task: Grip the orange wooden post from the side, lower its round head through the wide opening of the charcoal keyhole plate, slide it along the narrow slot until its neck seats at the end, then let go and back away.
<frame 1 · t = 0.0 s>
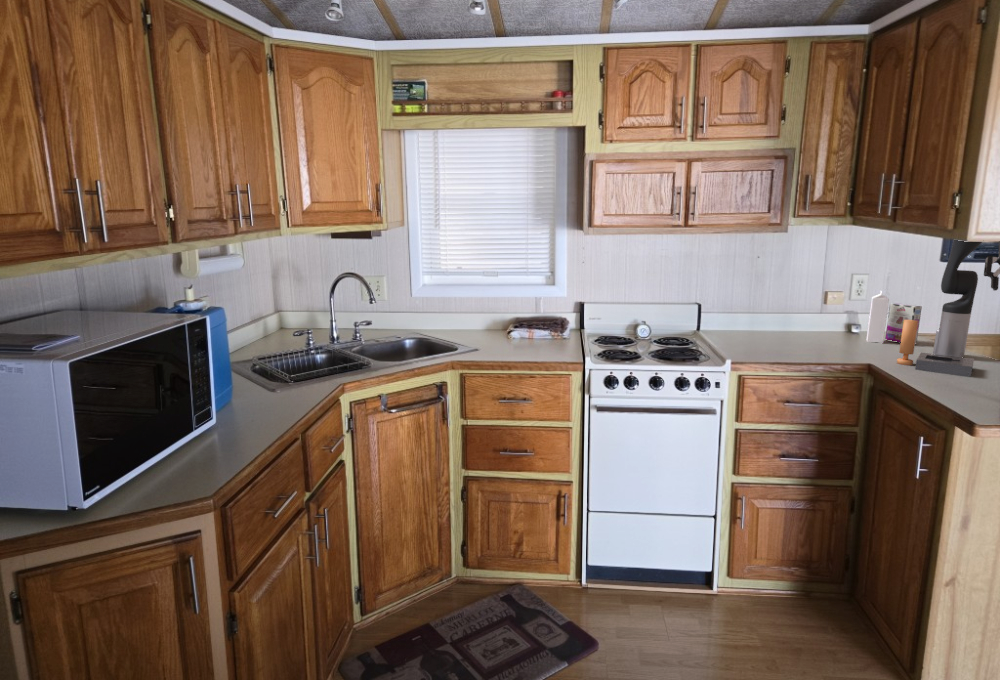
keyhole plate: (944, 368, 231), on the table
post: (904, 363, 238), on the table
milk: (874, 342, 279), on the table
candy bar box: (900, 343, 279), on the table
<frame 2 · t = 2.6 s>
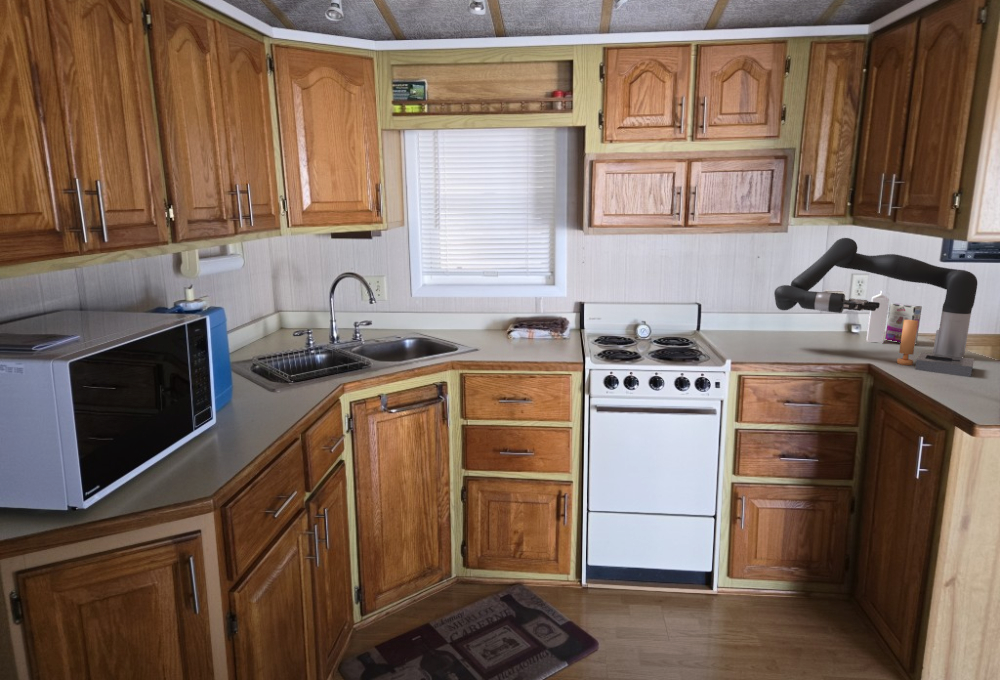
hand: (877, 306, 240), 20 cm above the table, tool horizontal, fingers open, 8 cm apart
nothing on the table moved.
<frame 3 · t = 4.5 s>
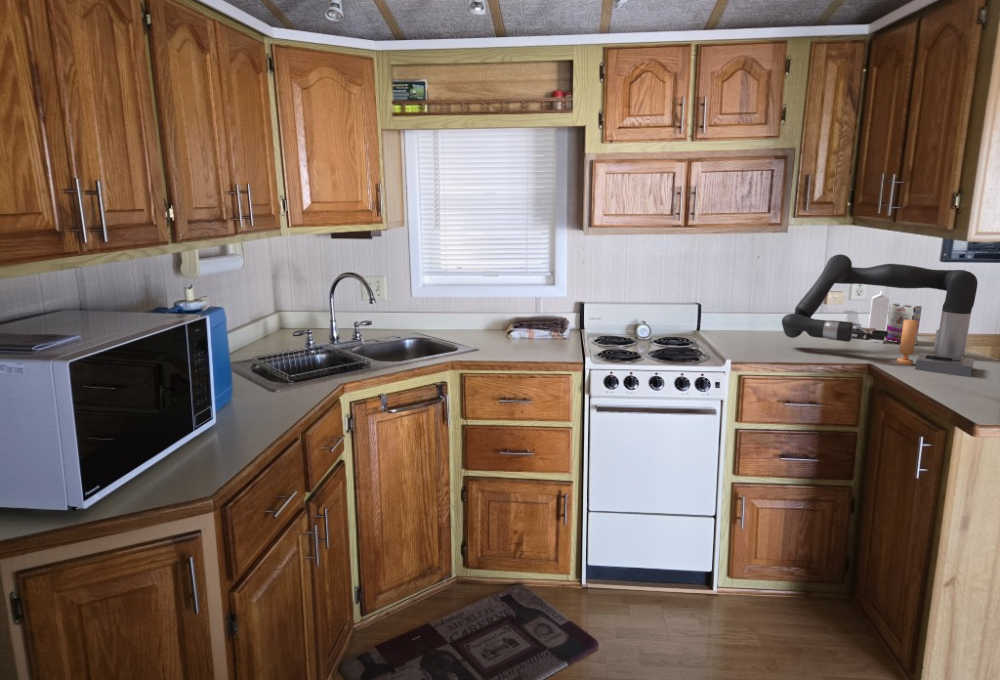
hand: (886, 335, 240), 9 cm above the table, tool horizontal, fingers open, 8 cm apart
nothing on the table moved.
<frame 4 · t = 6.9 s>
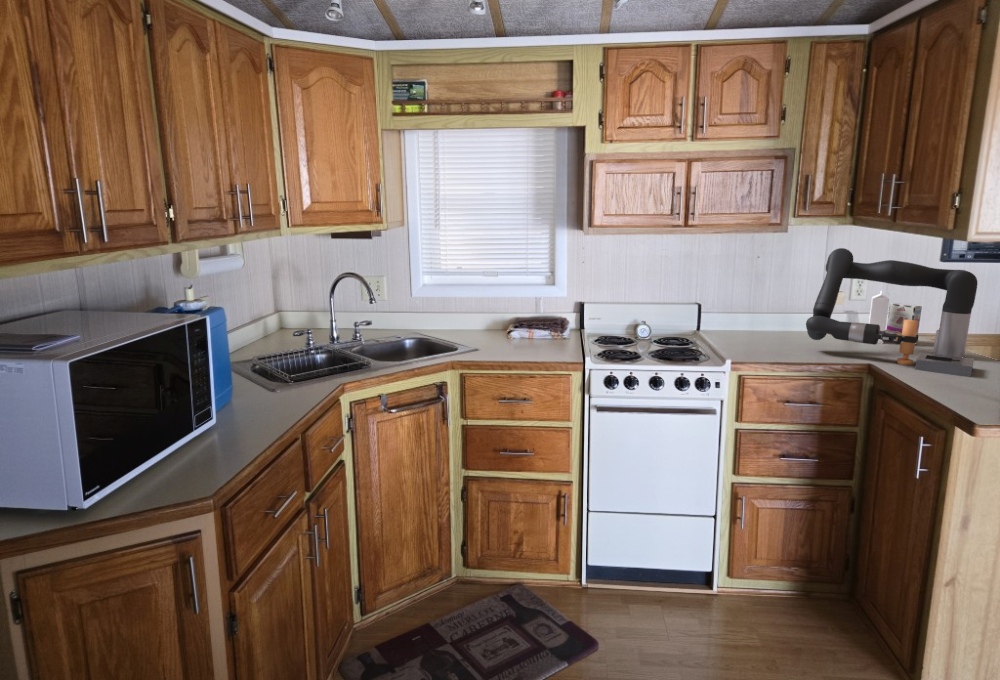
hand: (917, 339, 235), 10 cm above the table, tool horizontal, fingers closed on post, 4 cm apart
post: (904, 363, 238), on the table, touching gripper
everything else where it was.
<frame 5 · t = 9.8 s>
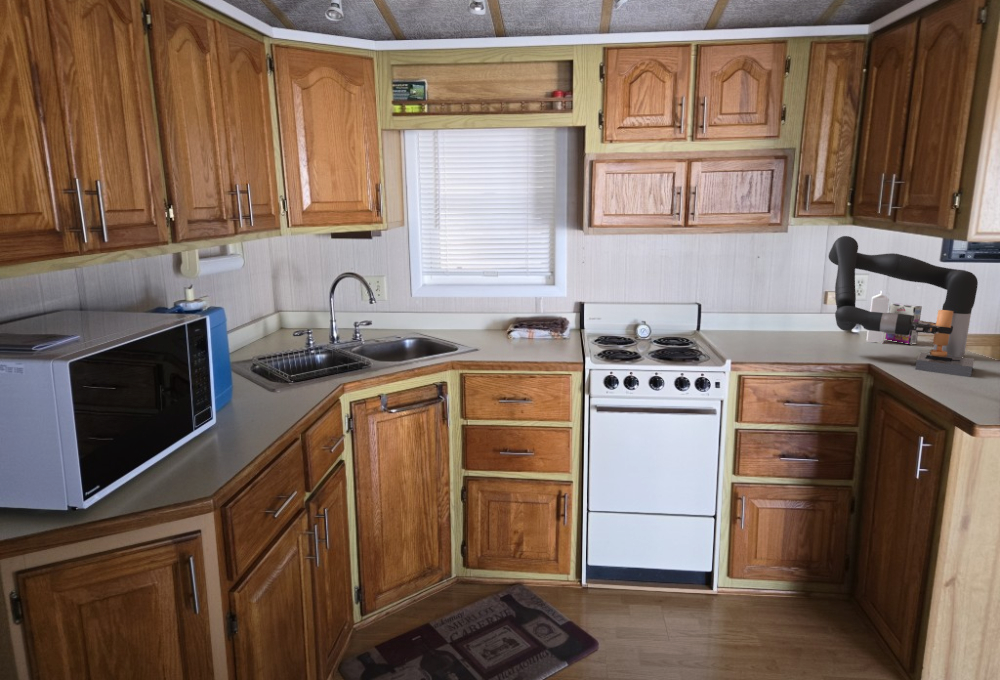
hand: (951, 330, 228), 14 cm above the table, tool horizontal, fingers closed on post, 4 cm apart
post: (938, 355, 231), point 5 cm above the table, touching gripper
everything else where it was.
when the fingers open (10 cm above the table, at t = 12.9 s): post stays where it is, on the table.
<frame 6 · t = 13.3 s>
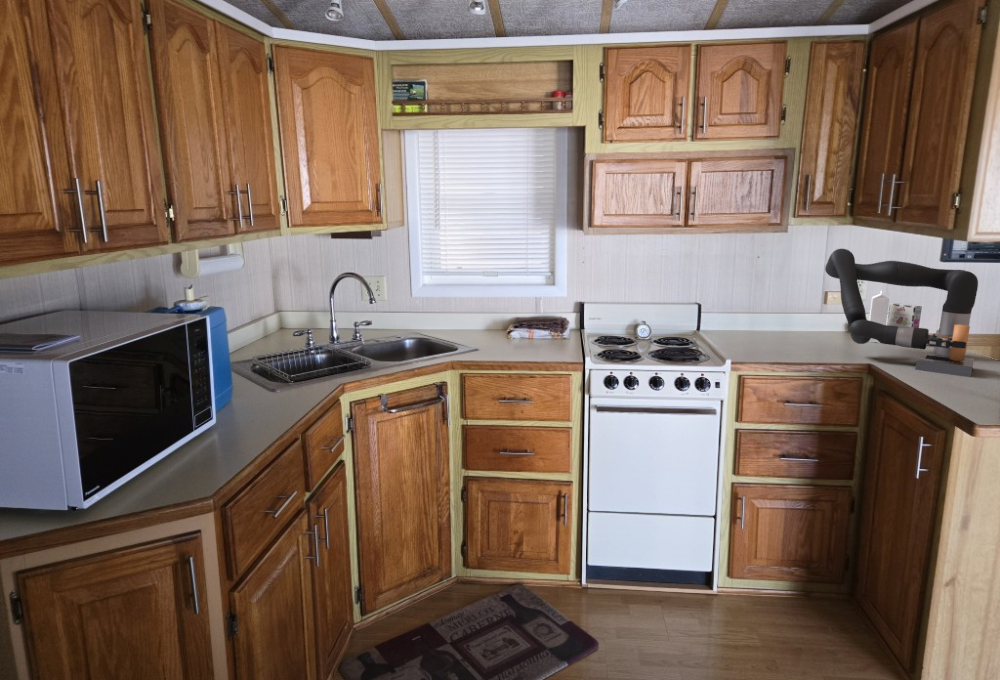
hand: (966, 343, 226), 10 cm above the table, tool horizontal, fingers open, 8 cm apart
post: (954, 370, 229), on the table
everything else where it was.
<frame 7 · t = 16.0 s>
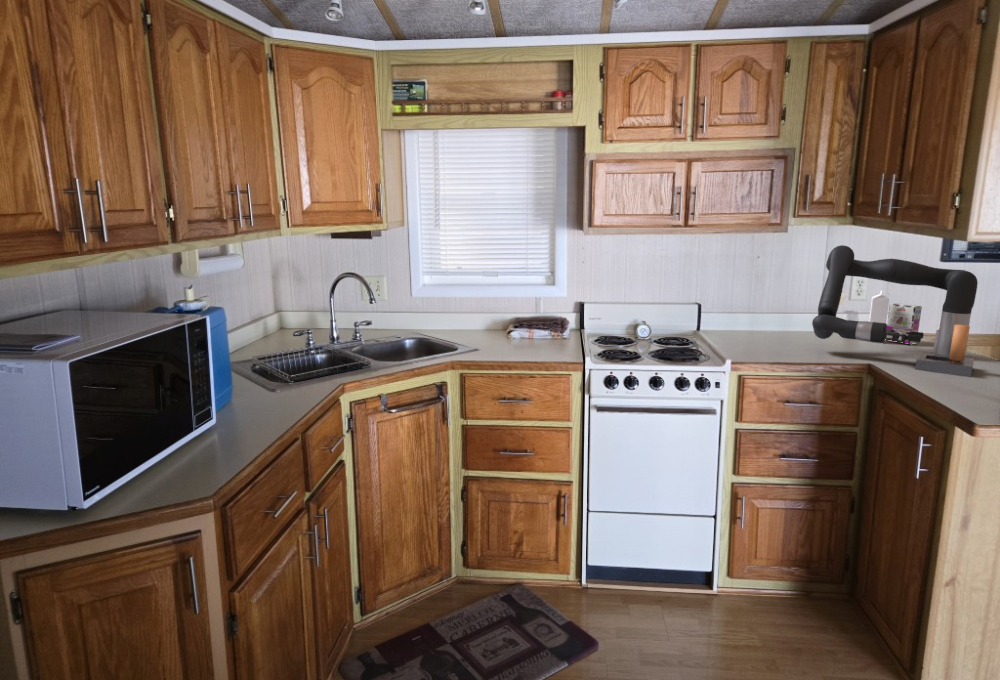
hand: (922, 337, 234), 10 cm above the table, tool horizontal, fingers open, 8 cm apart
nothing on the table moved.
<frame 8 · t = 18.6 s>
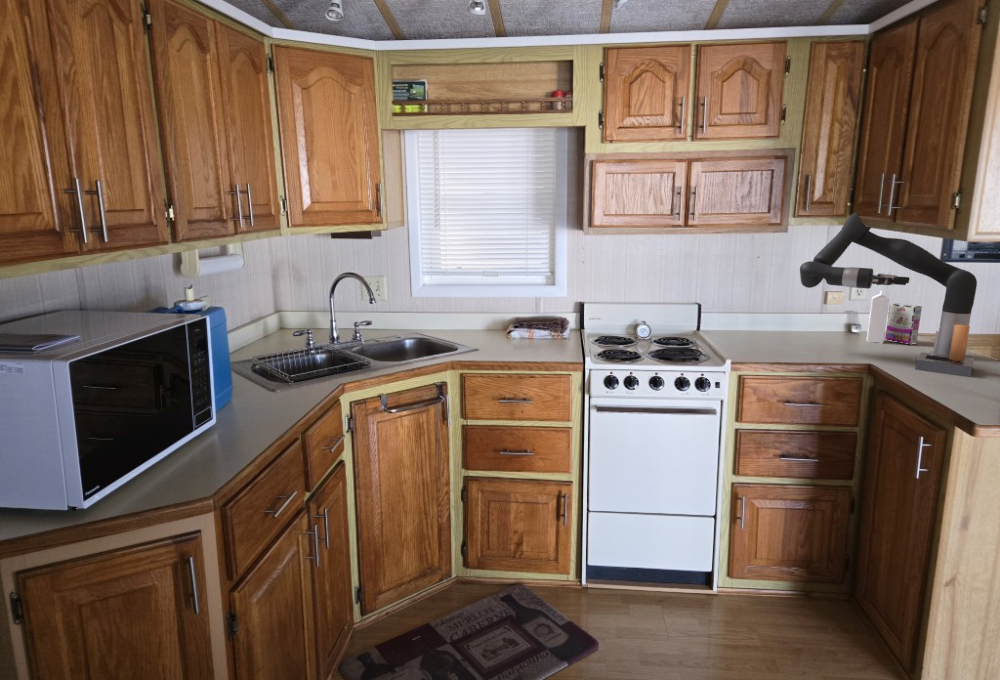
hand: (907, 281, 234), 30 cm above the table, tool horizontal, fingers open, 8 cm apart
nothing on the table moved.
at the end: post 0.1 cm from the target spot, on the table; post tilted 0°; the gripper is holding nothing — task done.
